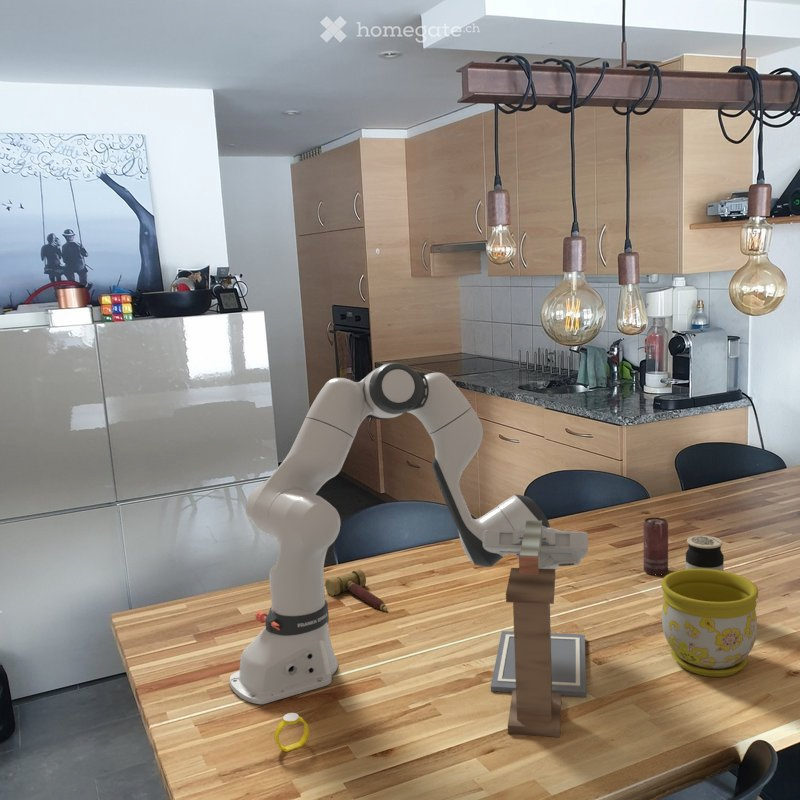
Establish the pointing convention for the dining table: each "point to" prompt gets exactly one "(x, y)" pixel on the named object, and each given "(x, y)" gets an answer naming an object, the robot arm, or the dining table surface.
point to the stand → (533, 655)
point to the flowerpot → (709, 620)
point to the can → (655, 546)
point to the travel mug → (704, 553)
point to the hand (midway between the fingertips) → (532, 534)
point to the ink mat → (563, 660)
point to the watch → (291, 719)
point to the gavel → (354, 588)
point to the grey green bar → (530, 548)
